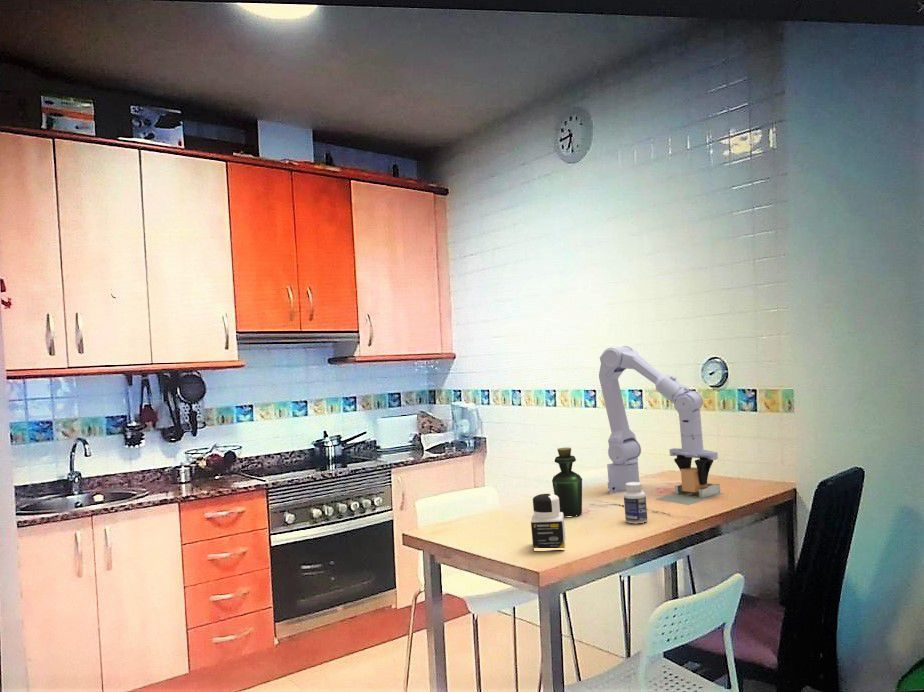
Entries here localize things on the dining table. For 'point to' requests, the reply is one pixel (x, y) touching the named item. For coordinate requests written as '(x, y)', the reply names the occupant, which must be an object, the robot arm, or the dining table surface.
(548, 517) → the medicine bottle
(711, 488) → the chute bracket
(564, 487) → the potion bottle
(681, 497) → the deck plate
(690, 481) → the chute block
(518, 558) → the dining table surface
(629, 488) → the pill bottle
